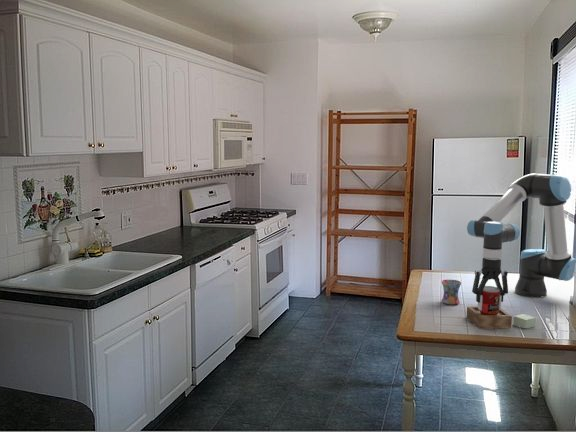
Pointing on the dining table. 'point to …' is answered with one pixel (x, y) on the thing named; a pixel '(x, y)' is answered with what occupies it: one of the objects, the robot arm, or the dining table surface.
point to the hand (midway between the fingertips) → (489, 309)
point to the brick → (524, 321)
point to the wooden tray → (489, 318)
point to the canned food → (490, 300)
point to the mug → (450, 291)
